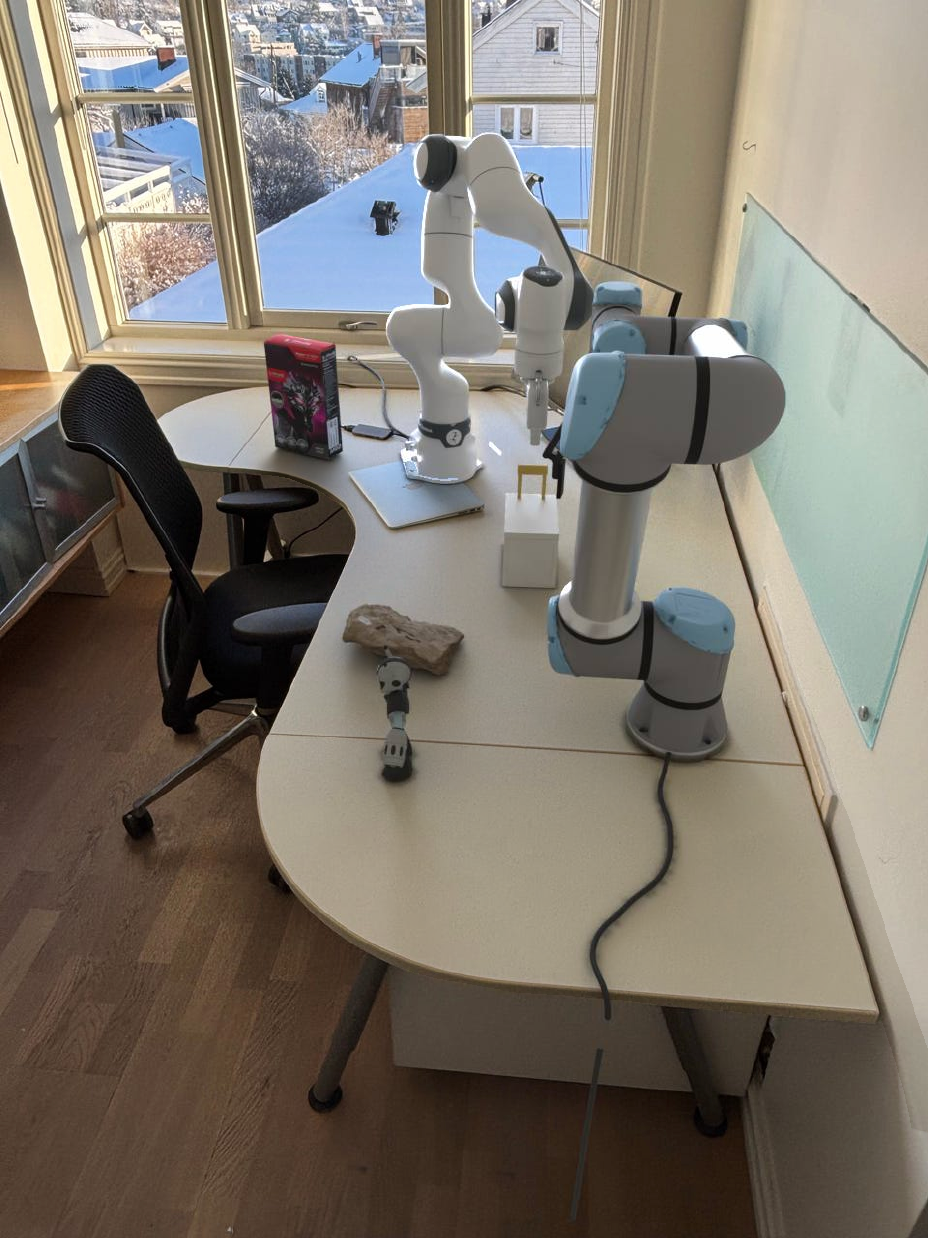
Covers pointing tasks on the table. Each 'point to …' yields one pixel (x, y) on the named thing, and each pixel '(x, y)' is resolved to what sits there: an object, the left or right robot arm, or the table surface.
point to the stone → (402, 637)
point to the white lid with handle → (531, 510)
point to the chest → (530, 562)
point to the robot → (396, 716)
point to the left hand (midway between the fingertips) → (534, 434)
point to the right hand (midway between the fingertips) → (597, 500)
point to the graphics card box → (304, 395)
